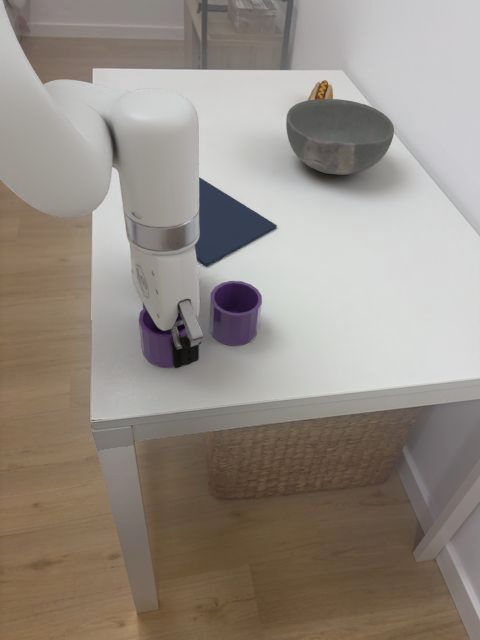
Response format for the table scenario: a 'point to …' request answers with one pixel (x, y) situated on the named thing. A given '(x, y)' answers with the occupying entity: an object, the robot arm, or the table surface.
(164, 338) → the ramekin
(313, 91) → the food
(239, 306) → the ramekin
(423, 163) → the table surface
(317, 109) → the bowl
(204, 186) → the placemat
